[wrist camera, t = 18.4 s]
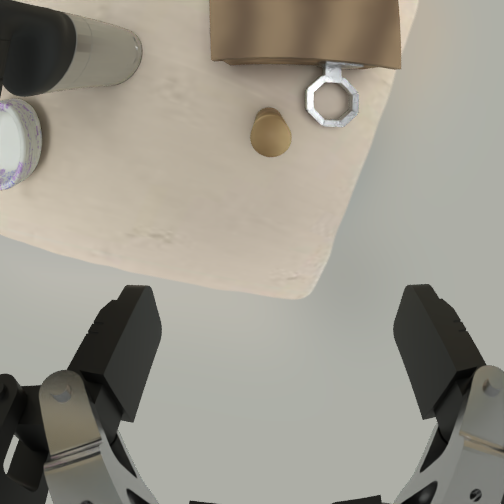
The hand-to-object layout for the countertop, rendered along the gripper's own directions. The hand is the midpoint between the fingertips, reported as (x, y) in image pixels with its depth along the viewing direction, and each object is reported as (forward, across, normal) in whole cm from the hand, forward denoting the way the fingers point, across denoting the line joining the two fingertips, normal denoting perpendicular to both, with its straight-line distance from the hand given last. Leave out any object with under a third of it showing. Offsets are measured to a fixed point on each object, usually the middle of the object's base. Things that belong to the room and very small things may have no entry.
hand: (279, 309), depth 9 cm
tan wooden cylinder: (+36, 0, -2) cm, 36 cm away
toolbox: (+36, -4, -17) cm, 40 cm away
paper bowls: (+36, +43, -5) cm, 57 cm away
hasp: (+34, -8, -6) cm, 35 cm away
